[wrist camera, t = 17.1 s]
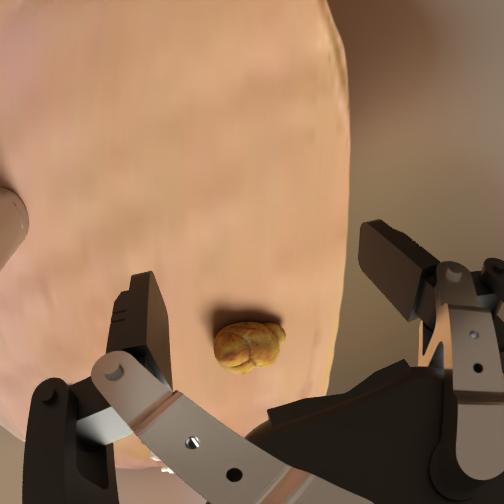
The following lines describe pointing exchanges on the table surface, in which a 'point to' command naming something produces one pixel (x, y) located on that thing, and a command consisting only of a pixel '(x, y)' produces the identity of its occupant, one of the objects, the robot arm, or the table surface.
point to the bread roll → (248, 345)
